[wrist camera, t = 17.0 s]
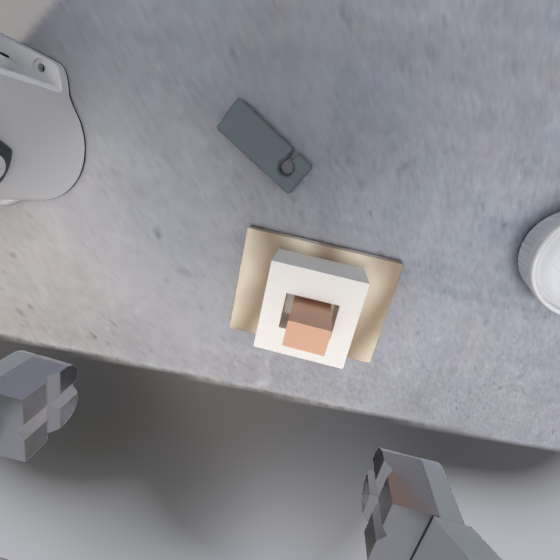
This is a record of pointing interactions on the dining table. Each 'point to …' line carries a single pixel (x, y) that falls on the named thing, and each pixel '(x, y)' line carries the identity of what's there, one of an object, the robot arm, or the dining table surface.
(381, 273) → the base board
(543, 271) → the ramekin
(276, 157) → the bracket
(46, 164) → the robot arm
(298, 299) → the block
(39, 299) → the dining table surface
